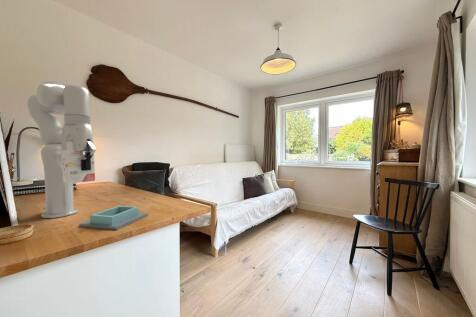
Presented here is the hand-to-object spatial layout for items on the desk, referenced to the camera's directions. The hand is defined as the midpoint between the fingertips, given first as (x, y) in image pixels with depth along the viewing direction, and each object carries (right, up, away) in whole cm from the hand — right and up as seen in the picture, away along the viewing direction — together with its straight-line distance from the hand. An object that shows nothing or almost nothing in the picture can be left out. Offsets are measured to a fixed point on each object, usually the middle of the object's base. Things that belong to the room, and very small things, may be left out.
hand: (79, 169), depth 76 cm
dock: (+9, -21, +8) cm, 24 cm away
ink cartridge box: (0, -5, 0) cm, 5 cm away
